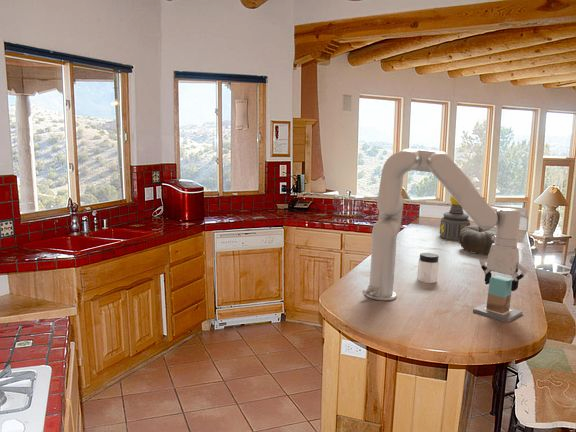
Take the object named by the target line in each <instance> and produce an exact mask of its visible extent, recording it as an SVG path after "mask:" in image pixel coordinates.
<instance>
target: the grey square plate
mask: <svg viewBox="0 0 576 432" xmlns="http://www.w3.org/2000/svg"><path fill="white" fill-rule="evenodd" d="M486 307H487V302H485V303H483V304H480V305H478V306H476V307H474V308H472V312H473V313H475V314H479V315H481V316H486V317H488V318H492V319H495V320H498V321H502V322H504V323H509V322H511V321H513V320H514V319H517V318H518V317H520V316H522V315H523V313H524V312H523V310H520V309H516V308H513V307H510V308H509V310H508V311H506V312H504V313H499V312H495V311H492V310H489V309H486Z"/></svg>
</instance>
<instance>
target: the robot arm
mask: <svg viewBox="0 0 576 432" xmlns="http://www.w3.org/2000/svg"><path fill="white" fill-rule="evenodd" d="M411 171H414V172H415V171H416V172H425V173H426V172H427V173H432V174H433V176H434V177H435V178H436V179H437V180H438V181H439V183H440V184H441V185H442V186H443V187H444V188H445V190H446V191H447V192H448V193H449V195H450V196H453V198H454V199H455V200H456V201H457V202H458V203H459V204H460V205H461V207H462V208H463V210H464V211H465V214H467V215H468V216H469V217H470V218H471V220H472V221H473V222H474V223H475V225H476V226H479V227H481V228H483V229H491V228H493V227H494V228H496V235H495V237H492V238H491V240H493V241H494V244H492V245H491V248H490V252H489V255H488V257H487V258H484V259H480V260H479V264H480V266H481V269H482V271H483V273H484V274H485V275H484V282H485V283H484V284H485V285H489V282H490V278H491V277H492V272H495V273H497V274H503V275H508V276H511V278H512V279H513V281H512V286H511V292H516V291H517V289H518V287H519V281H520V280H521V279H523V278H525V276H526V274H528V273H529V271H528V269H527V268H525V267H524V266H522V265H521V264H520V252H519V251H520V248H519V247H518V239H519V230H520V225H521V224H520V223H521V214H522V213H521V211H520V210H519V209H517V208H509V207H502V208H501V207H497V206H492V205H489V204H488V203H487V201H486V200H485V199H484V198H483V197H482V196H481V194H480V193H479V192H478V190H477V189H476V188H475V185H474V184H473V182H472V181H471V179H470V178H469V177H468V176H467V175H466V174H465V173H464V171H462V169H461V168H460V167H459V166H458V165H457V164H456V162H454V160H453V159H452V157H451V156H450V154H448V153H447V152H445V151H442V150H441V151H439V150H426V149H419V148H417V149H416V148H405V149H400V150H399V151H397V152H395V153H393V154H392V155H390V156H389V157H388V158H387V159H386V160H385V162H384V163H383V166H382V170H381V176H380V182H379V187H378V189H379V190H378V197H377V201H376V207H377V210H378V218H377V221H376V222H375V223H374V225H373V227H372V230H371V254H370V269H369V282H368V285H367V288H366V289H363V290H362V295H363V296H364V295H365V297H367V298H369V299H372V300H377V301H393V300H396V299H397V295H398V294H397V293H396V292H395V291H394V284H395V283H394V281H395V271H396V270H395V267H396V257H397V256H396V255H397V238H398V235H399V234H400V231H401V226H402V220H403V212H404V197H403V194H402V189H403V185H404V184H403V181H404V175H405V174H406V173H407V172H411ZM519 271H520V272H521V273H520V274H519Z"/></svg>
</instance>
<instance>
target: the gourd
mask: <svg viewBox="0 0 576 432" xmlns="http://www.w3.org/2000/svg"><path fill="white" fill-rule="evenodd" d="M495 235H496V227H495V226H494V227H493V228H491V229H483V228H481V227H479V226H478V225H477V224H475V225H474V224H472V225H471V224H470V226H467V227H465V228H464V229H463V230H462V231H461V232H460V234H459V240H458V243H459V245H460V246H461V248H462V249H463V250H464V251H466V252H468V253H471V254H477V255H479V254H483V255H488V256H489V252H490V248H491V245H492V244H494V241H493V240H491V238H492V237H495Z"/></svg>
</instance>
